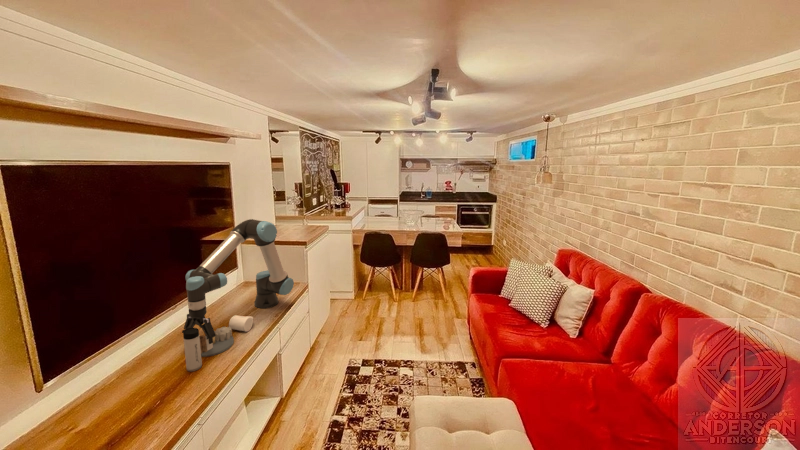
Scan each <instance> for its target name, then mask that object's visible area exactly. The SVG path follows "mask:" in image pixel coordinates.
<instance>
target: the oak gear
mask: <svg viewBox="0 0 800 450" xmlns="http://www.w3.org/2000/svg"><path fill="white" fill-rule="evenodd" d="M199 337H200V348H201V354H202V352H207V351H208V350H207V343H206V335H199Z"/></svg>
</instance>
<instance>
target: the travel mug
mask: <svg viewBox="0 0 800 450" xmlns="http://www.w3.org/2000/svg"><path fill="white" fill-rule="evenodd" d="M199 331H200V330H199V328H197V327H193V328H187V329H182V331H181V333H182V335H183V347H184V357H185V367H186V371H187V372H195V371H199V370H200V369H201V368H202V366H203V359H202V357H201V348H200V337H199V336H200V332H199Z"/></svg>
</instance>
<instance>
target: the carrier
mask: <svg viewBox="0 0 800 450" xmlns="http://www.w3.org/2000/svg"><path fill="white" fill-rule="evenodd" d="M214 332H215V334H216V336H215V337H213V348H212V349H210V350H208V351H207V352H202V354H201V358H203V357H204V358H207V357H213V356H217V355H219V354H220V355H221V353H224V352H226V351H227V350H229V349H231V347H232V346H234V343H235V341H234V340H235V338H234V336H233V329H231V327H229V326H227V327H226V326H222V327H217V328H216V329H215V330H214ZM205 336H206V335H205ZM206 338H207V336H206Z"/></svg>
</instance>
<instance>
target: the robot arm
mask: <svg viewBox="0 0 800 450" xmlns="http://www.w3.org/2000/svg"><path fill="white" fill-rule="evenodd" d="M277 234H278V229H277V227H276V225H275V224H274V223H272V222H271V221H265V220H259V219H253V218H250V219H246V220H244V221H242V222H240V223H238V225H236V226H235V227H234V228H232V230H231V231H230V232H229V235H228V236H227V237H226V238H225V239H224V240H223V241H222V242H221V243H220V244H219V246H217V248H216V249H215V250H213V252H211V254H210V255H208V256H207V258H206V259H205V260H204V261H202V263H201V264H200V265H199V266H198V267H197V268H196V269H190V270H188V271H187V272H186V274H185V281H186V283H185V289H186V294H187V295H186V296H187V297H186V298H187V307H188V313H187V314H186V319H185V322H184V326H183V330H185V329H187V328H195V326H196V325H197V326H198V327H199V328H201V330H202V332H204V336H207V338H206V343H207V350H210V349H212V348H213V337H215V336H216V334H215V332H214V331H215V330H214V327H213V325H212V323H211V318H210V317H208V318H206V314H207V299H206V294H208V293H210V292H212V291H216V290H219V289H221V288H223V287H225V286H226V285H228V277H227V275H226V274H225V273H222V272H219V273H216V274H213V273H214V272H215V271H216V270H217V269H218V268H219V267H220V266H221V265H222V264H223V263H224V261H225V260H227V258H228V257H229V256H230V255H231V254H232V253H233V251H235V250H236V249H237V247H239V246H240V244H241V243H244V242H246V240H249V239H252V240H253V241H254V244H255V245H256V246H257V247H259V249H260V252H261V254H262V257H263V260H264V262H265V265H266V267H267V270H263V271H262V270H261V271H260V272H258V273H256V275H255V286H256V296H255V299H254V307H255V308H257V309H270V308H273V307H275V306H277V305H278V303H279V298H278V296H277V295H280V296H287V295H289V294H290V293H291V292H292V290H293V288H294V283H295V281H294V279H292V277H289V275H288V272H287V271H285V270H284V268H283V265H282V262H281V259H280V256H279V252H278V250H277V247H276V245H275V241H276V238H277Z"/></svg>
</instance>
